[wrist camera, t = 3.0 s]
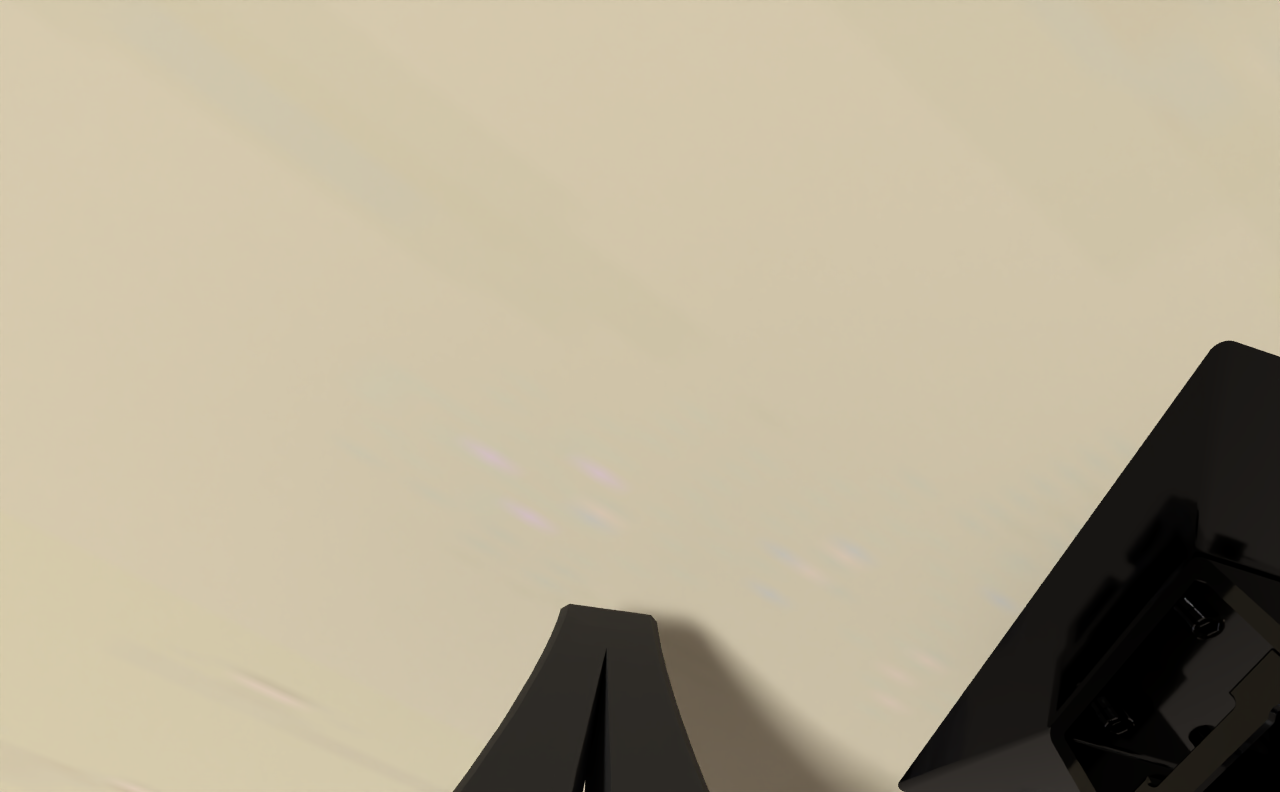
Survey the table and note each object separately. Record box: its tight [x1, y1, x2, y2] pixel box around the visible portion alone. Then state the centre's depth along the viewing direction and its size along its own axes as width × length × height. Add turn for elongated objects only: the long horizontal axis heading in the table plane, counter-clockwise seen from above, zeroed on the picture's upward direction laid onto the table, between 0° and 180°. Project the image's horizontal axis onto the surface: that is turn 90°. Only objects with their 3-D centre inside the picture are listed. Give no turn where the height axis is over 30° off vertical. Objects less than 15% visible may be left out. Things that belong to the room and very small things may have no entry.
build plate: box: [898, 341, 1280, 792], centre depth 11 cm, size 13×8×5 cm, turn 162°
